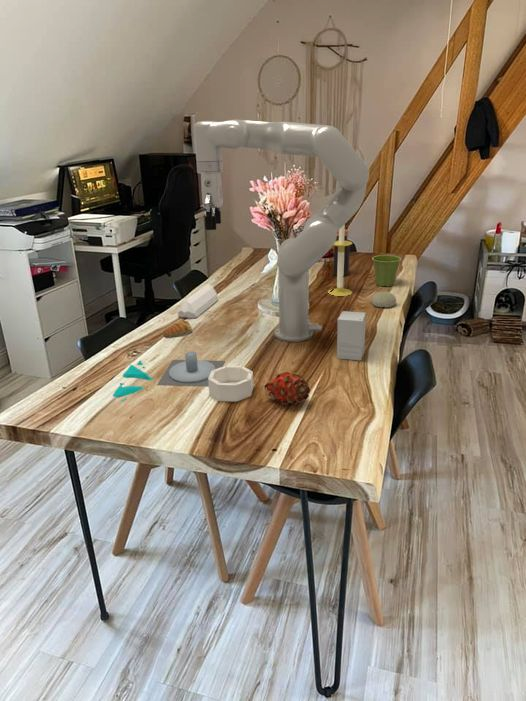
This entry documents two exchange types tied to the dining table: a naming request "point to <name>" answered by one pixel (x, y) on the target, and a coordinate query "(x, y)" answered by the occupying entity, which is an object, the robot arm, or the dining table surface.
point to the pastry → (178, 329)
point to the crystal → (198, 302)
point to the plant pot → (385, 269)
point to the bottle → (346, 255)
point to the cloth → (131, 373)
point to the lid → (191, 369)
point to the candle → (341, 265)
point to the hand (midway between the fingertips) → (213, 226)
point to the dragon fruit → (288, 388)
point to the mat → (168, 381)
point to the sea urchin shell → (383, 299)
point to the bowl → (230, 383)
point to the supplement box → (351, 335)
